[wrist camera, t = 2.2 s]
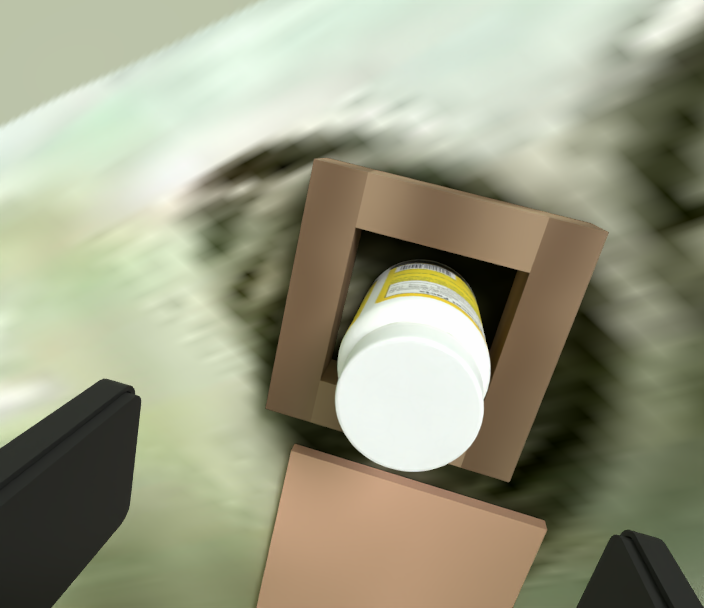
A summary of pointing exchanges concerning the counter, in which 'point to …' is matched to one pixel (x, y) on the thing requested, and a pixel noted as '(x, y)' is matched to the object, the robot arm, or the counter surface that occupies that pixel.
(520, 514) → the terracotta coaster
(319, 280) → the walnut cup holder
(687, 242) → the counter surface
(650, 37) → the counter surface
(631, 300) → the counter surface
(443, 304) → the supplement bottle
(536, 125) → the counter surface
